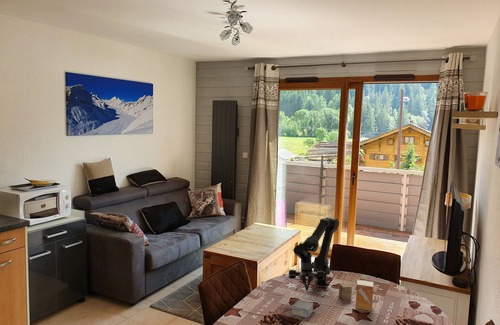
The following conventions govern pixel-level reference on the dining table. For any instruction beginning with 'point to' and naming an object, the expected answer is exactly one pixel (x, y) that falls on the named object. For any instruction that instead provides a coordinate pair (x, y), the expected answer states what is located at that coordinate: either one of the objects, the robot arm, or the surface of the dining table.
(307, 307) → the medicine box
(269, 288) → the dining table surface
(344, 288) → the olive beige block
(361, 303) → the small box
